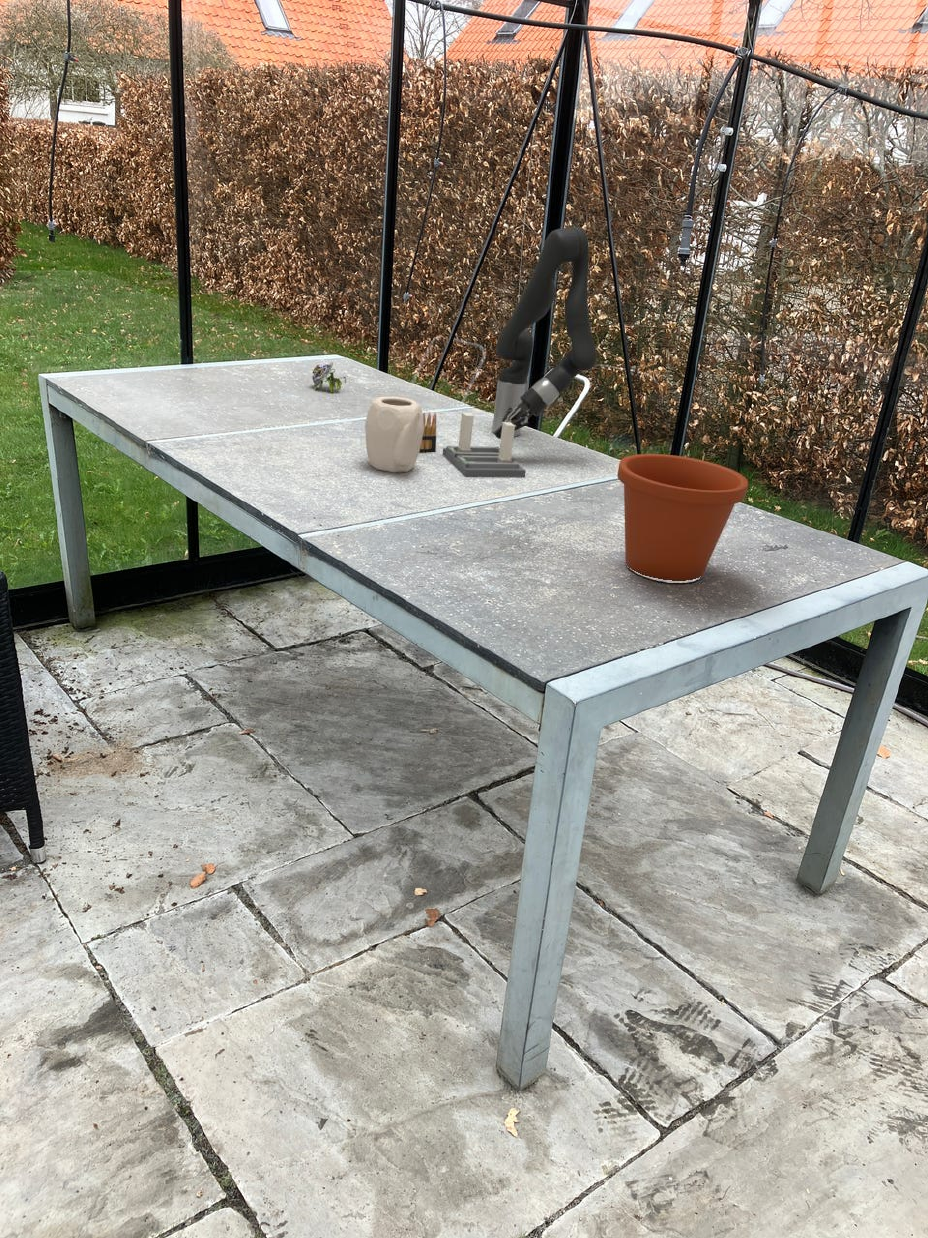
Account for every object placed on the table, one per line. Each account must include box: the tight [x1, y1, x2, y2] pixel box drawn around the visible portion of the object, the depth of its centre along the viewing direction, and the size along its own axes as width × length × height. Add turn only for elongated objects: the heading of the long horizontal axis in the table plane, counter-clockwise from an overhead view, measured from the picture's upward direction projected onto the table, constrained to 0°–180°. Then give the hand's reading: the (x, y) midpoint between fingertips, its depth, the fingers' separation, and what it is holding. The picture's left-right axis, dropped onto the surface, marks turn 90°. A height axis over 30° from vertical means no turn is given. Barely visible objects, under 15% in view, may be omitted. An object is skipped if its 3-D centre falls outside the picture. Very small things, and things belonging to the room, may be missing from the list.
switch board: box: [442, 445, 527, 478], centre depth 284 cm, size 22×18×3 cm
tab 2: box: [497, 422, 515, 463], centre depth 278 cm, size 4×3×12 cm
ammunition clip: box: [419, 412, 437, 454], centre depth 288 cm, size 11×2×12 cm, turn 117°
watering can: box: [364, 396, 424, 473], centre depth 268 cm, size 16×27×19 cm, turn 29°
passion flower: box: [311, 361, 347, 394], centre depth 353 cm, size 11×11×12 cm
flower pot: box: [617, 453, 749, 581], centre depth 217 cm, size 28×28×23 cm
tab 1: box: [456, 412, 475, 452], centre depth 284 cm, size 4×3×12 cm
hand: (496, 436), depth 288 cm, fingers closed
